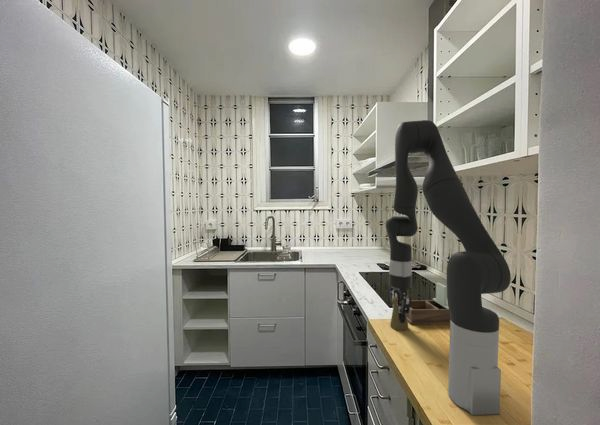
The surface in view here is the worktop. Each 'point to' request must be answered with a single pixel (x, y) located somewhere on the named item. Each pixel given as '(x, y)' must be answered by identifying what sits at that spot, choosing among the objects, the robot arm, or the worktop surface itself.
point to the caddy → (427, 313)
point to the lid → (441, 295)
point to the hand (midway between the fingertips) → (399, 320)
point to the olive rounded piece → (397, 318)
